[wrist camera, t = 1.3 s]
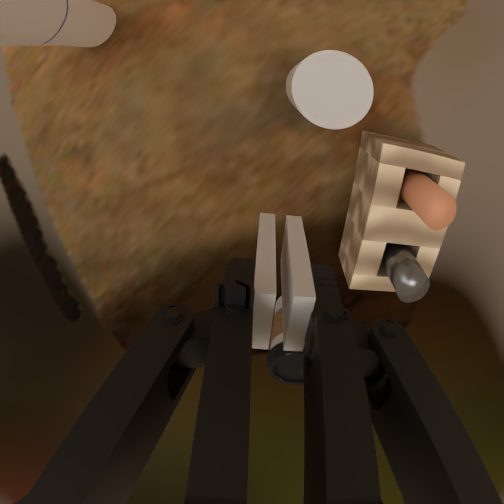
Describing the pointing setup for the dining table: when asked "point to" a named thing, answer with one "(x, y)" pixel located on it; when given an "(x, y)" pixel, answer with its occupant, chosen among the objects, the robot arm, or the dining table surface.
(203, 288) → the dining table surface
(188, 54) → the dining table surface
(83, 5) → the cylindrical container
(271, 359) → the coffee cup
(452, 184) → the birch block
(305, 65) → the cup
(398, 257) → the peg steel
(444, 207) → the peg terracotta
